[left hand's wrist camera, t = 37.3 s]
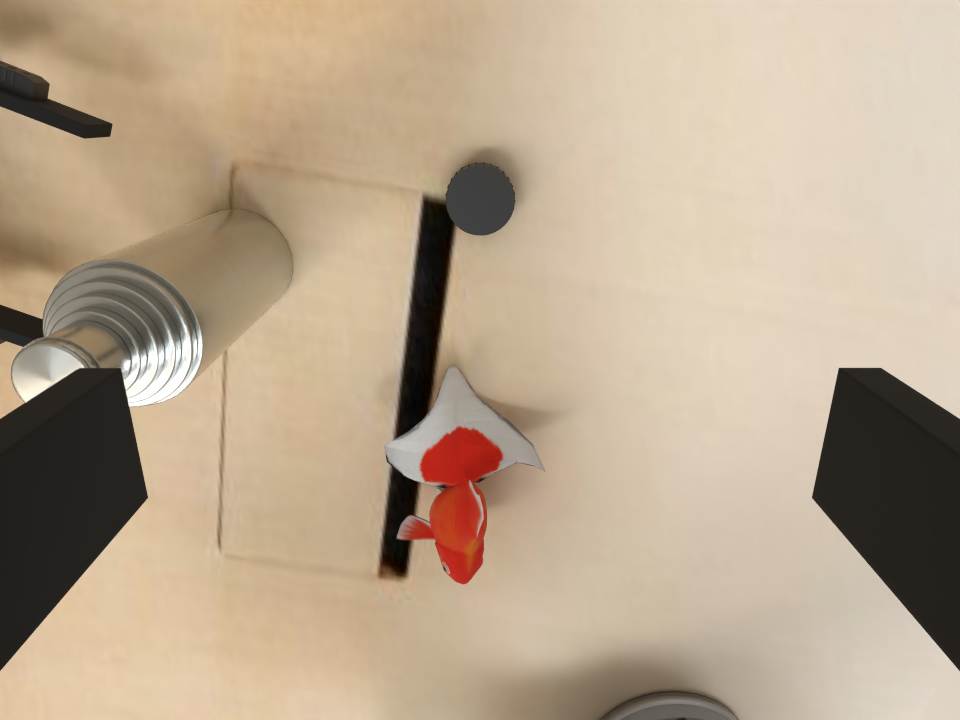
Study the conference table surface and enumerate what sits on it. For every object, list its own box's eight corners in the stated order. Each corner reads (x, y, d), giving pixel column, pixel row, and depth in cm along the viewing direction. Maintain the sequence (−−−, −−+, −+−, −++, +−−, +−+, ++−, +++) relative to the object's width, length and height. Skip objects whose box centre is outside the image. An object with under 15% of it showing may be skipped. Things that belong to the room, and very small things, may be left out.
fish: (340, 555, 50) (379, 600, 41) (384, 353, 51) (432, 353, 42) (466, 567, 54) (527, 610, 45) (504, 381, 56) (571, 387, 47)
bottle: (266, 329, 48) (108, 492, 28) (172, 278, 47) (-67, 409, 27) (310, 244, 46) (175, 353, 26) (213, 188, 45) (-13, 255, 24)
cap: (499, 150, 44) (499, 152, 42) (523, 215, 46) (526, 220, 44) (435, 178, 45) (433, 181, 43) (462, 241, 46) (462, 246, 44)
